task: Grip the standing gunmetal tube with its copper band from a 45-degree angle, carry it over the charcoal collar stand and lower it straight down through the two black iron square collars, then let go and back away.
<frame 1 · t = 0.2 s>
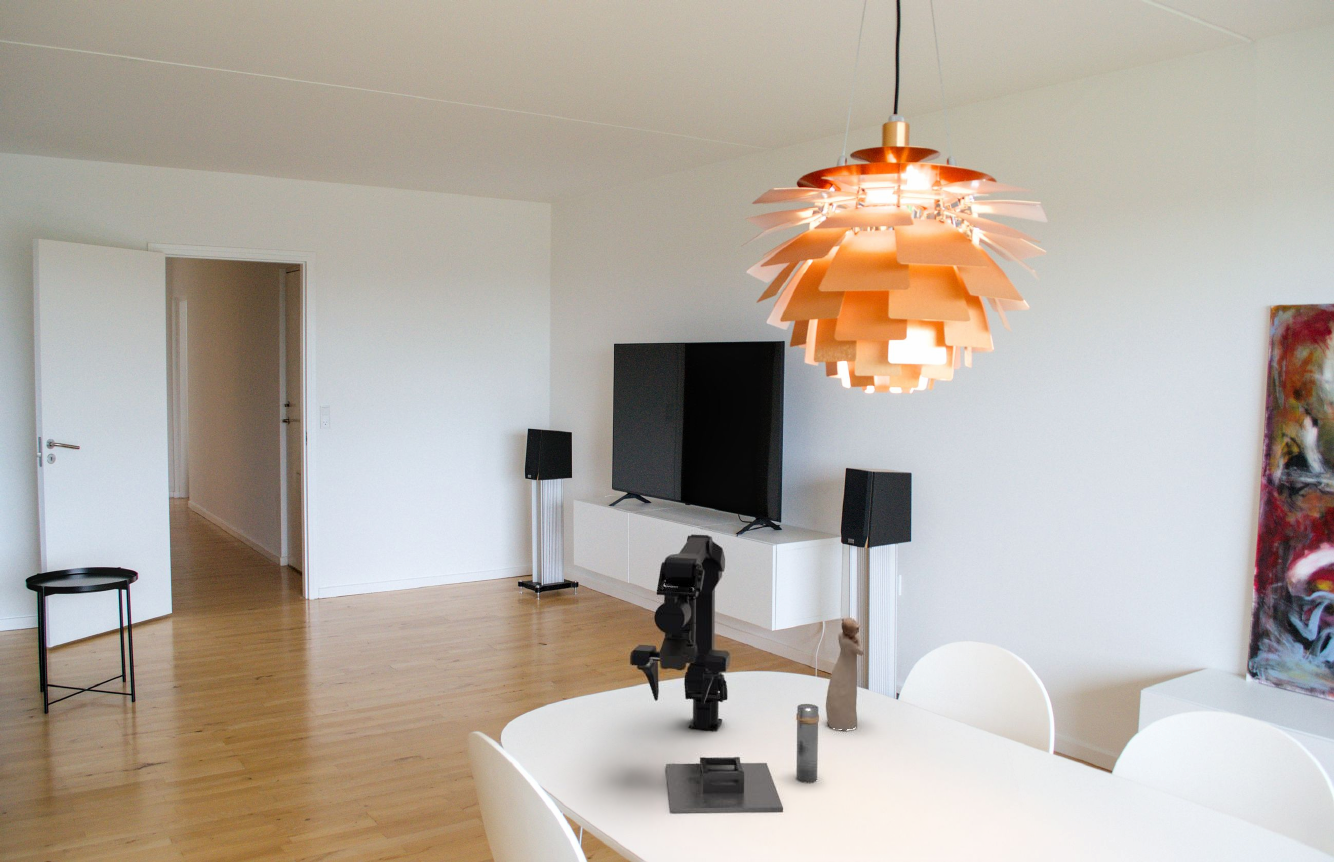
hand: (679, 702, 187), 14 cm above the table, tool pointing down, fingers open, 9 cm apart
air tube: (806, 778, 186), on the table
collar stand: (721, 788, 182), on the table
figurine: (844, 726, 215), on the table
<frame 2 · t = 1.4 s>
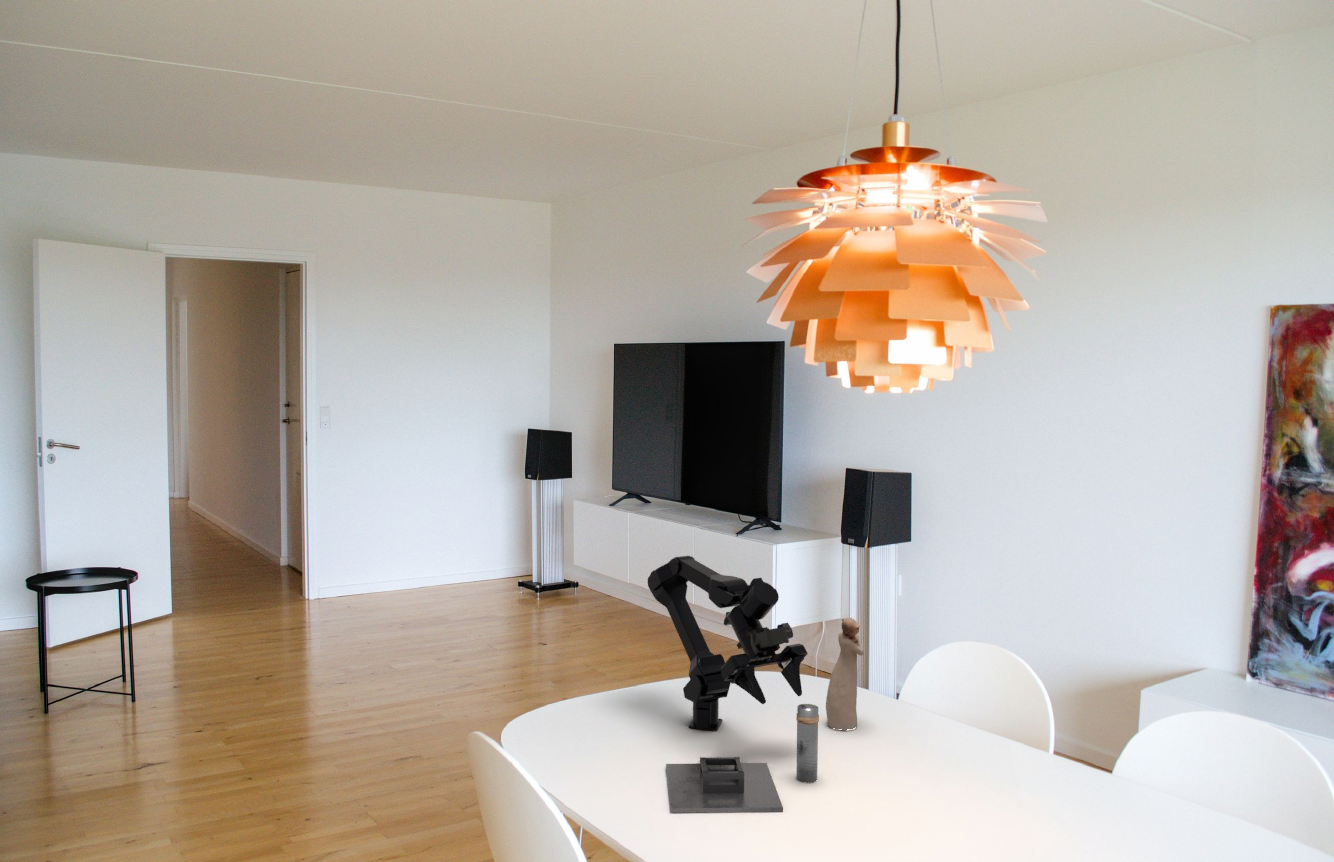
hand: (782, 699, 192), 13 cm above the table, tool tilted 45°, fingers open, 9 cm apart
nothing on the table moved.
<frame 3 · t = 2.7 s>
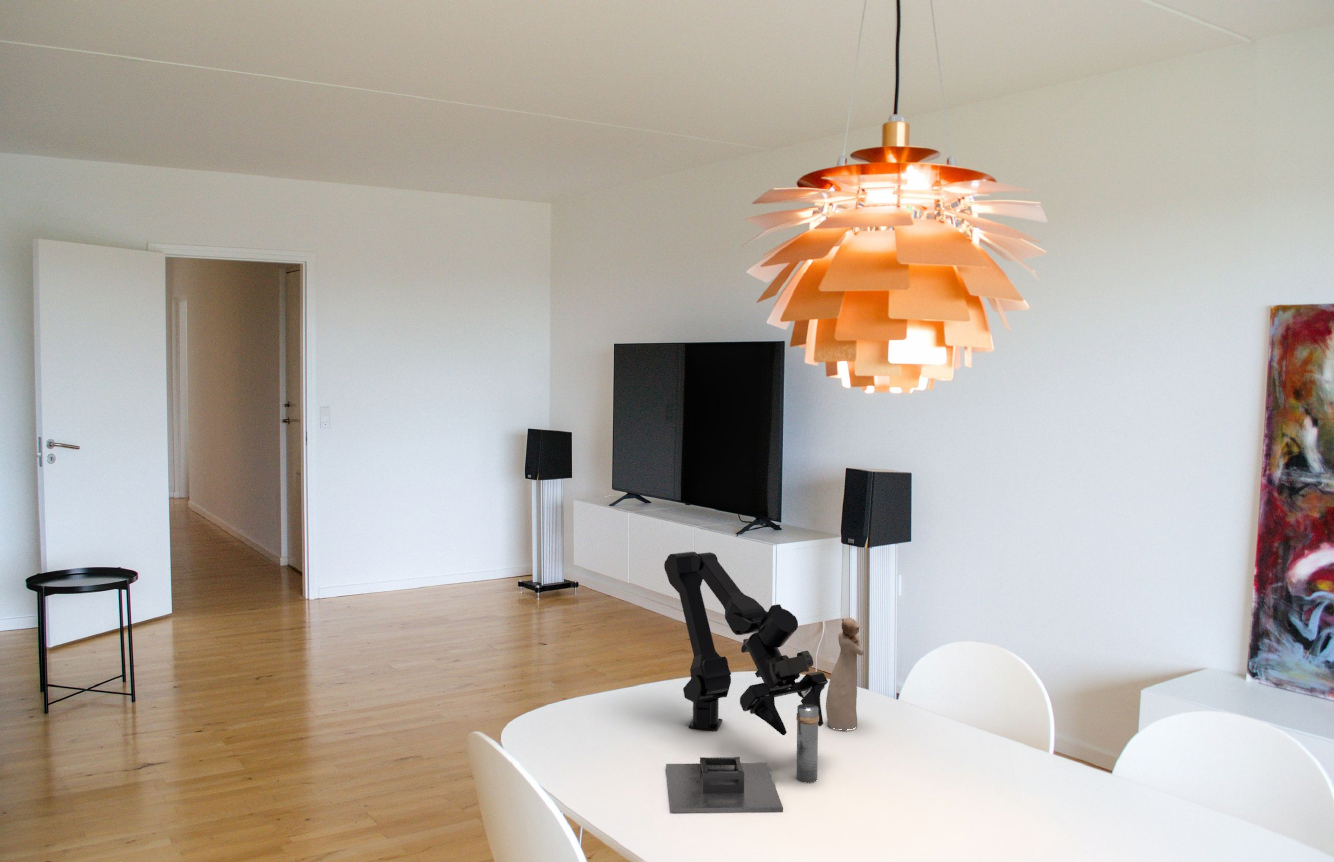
hand: (803, 729, 187), 9 cm above the table, tool tilted 45°, fingers open, 9 cm apart
nothing on the table moved.
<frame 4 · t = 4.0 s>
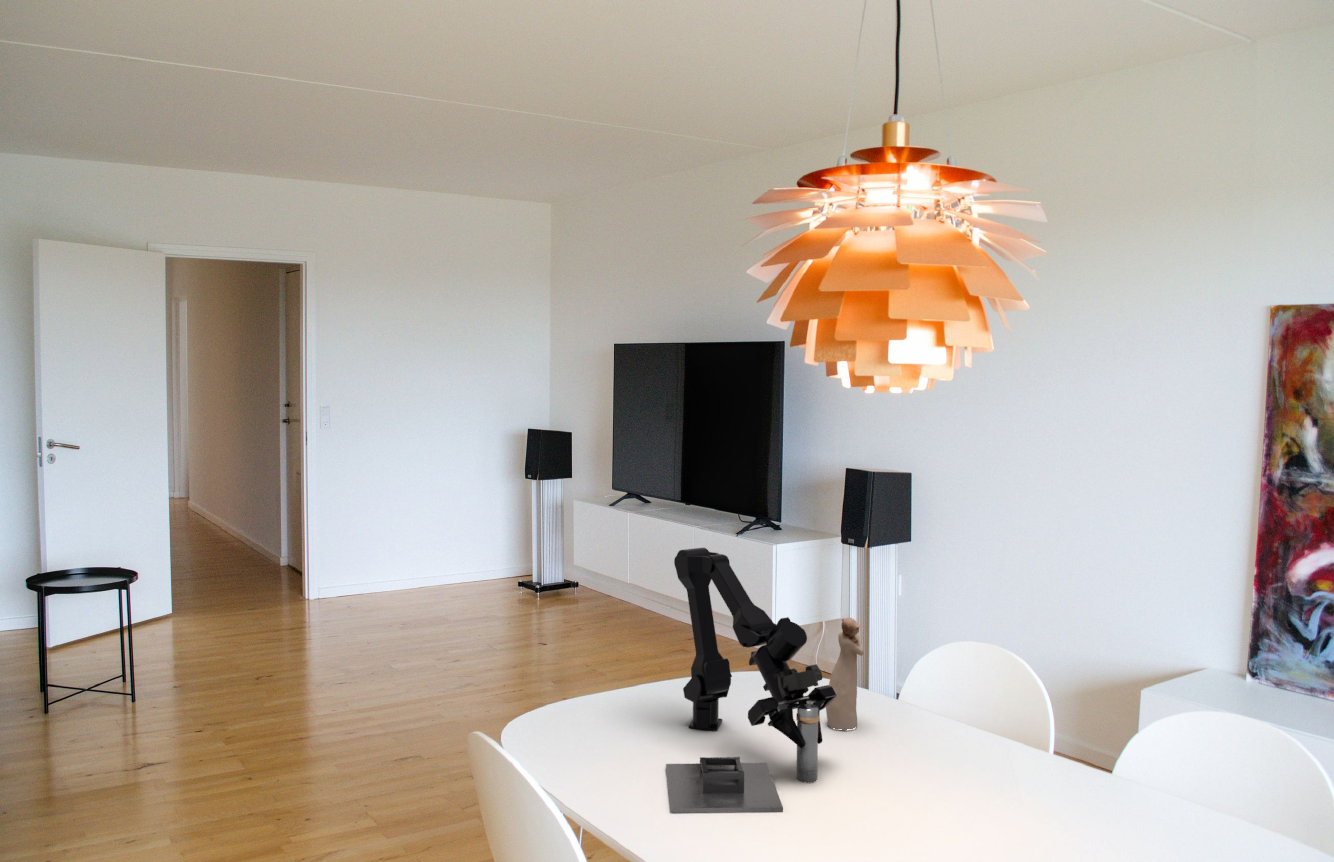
hand: (812, 744, 185), 7 cm above the table, tool tilted 45°, fingers closed on air tube, 4 cm apart
air tube: (806, 778, 186), on the table, touching gripper
everything else where it was.
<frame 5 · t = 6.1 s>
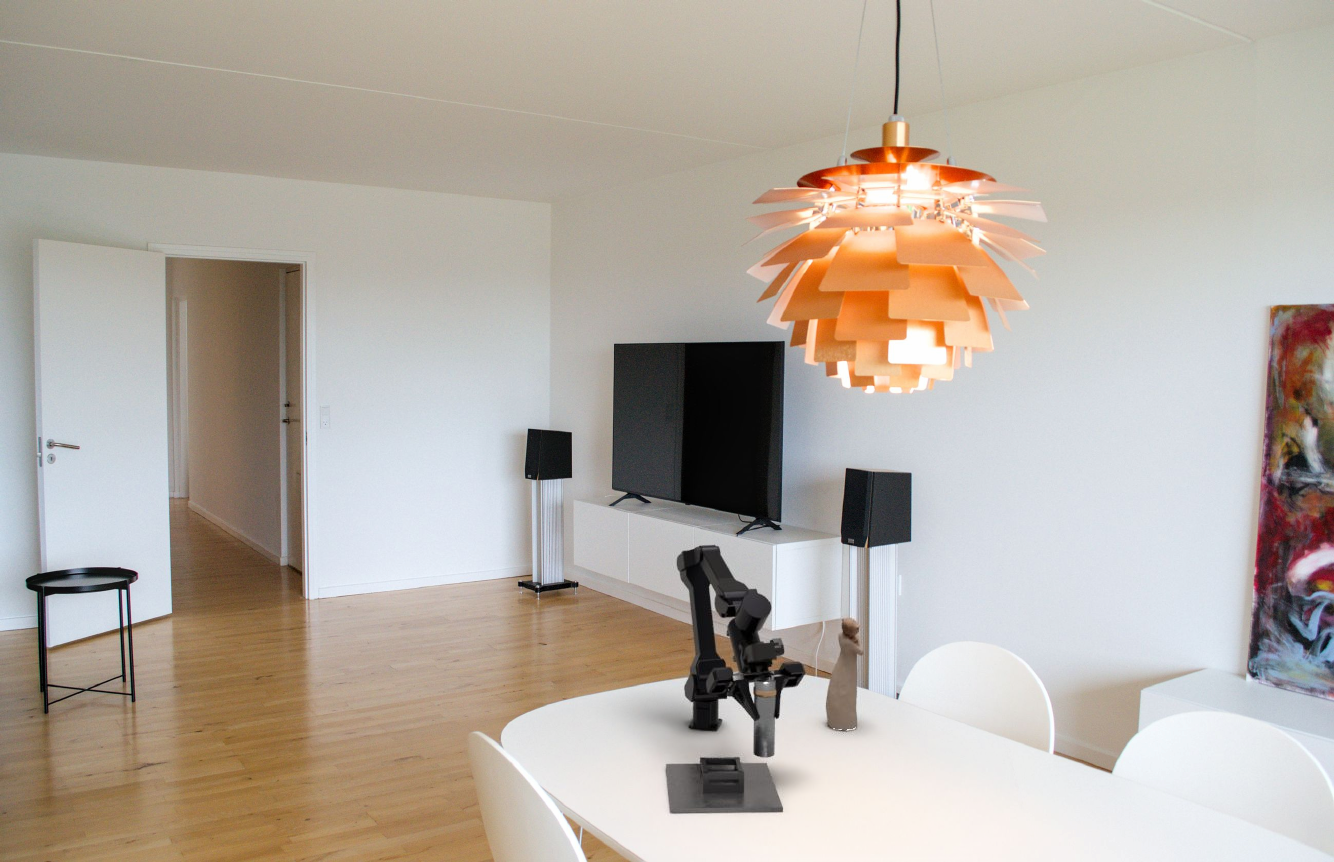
hand: (766, 718, 181), 13 cm above the table, tool tilted 45°, fingers closed on air tube, 4 cm apart
air tube: (763, 753, 182), point 6 cm above the table, touching gripper
everything else where it was.
when the fingers open (9 cm above the table, at t = 8.1 s): air tube stays where it is, resting on collar stand.
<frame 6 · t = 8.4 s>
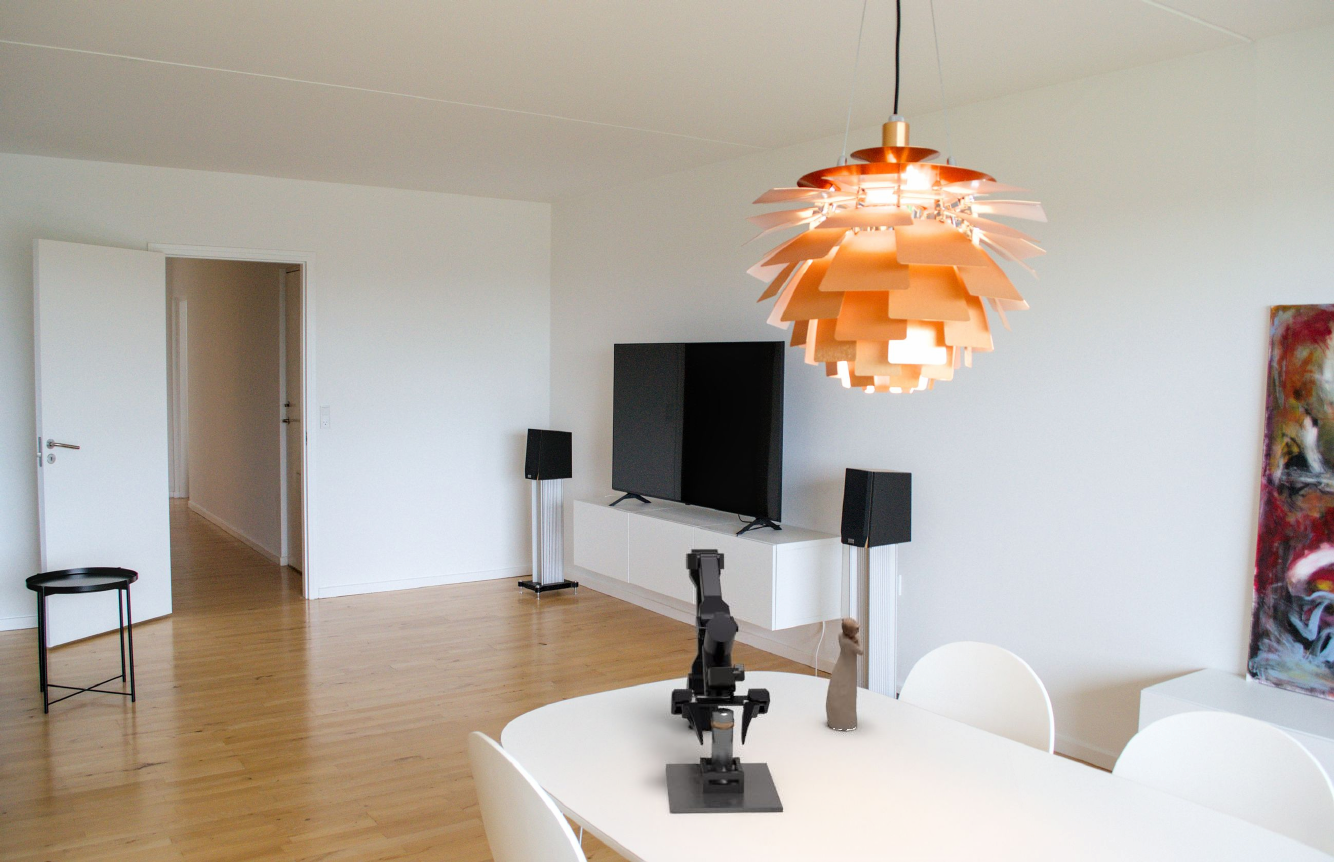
hand: (722, 744, 180), 9 cm above the table, tool tilted 45°, fingers open, 7 cm apart
air tube: (721, 783, 182), point 1 cm above the table, touching collar stand
everything else where it was.
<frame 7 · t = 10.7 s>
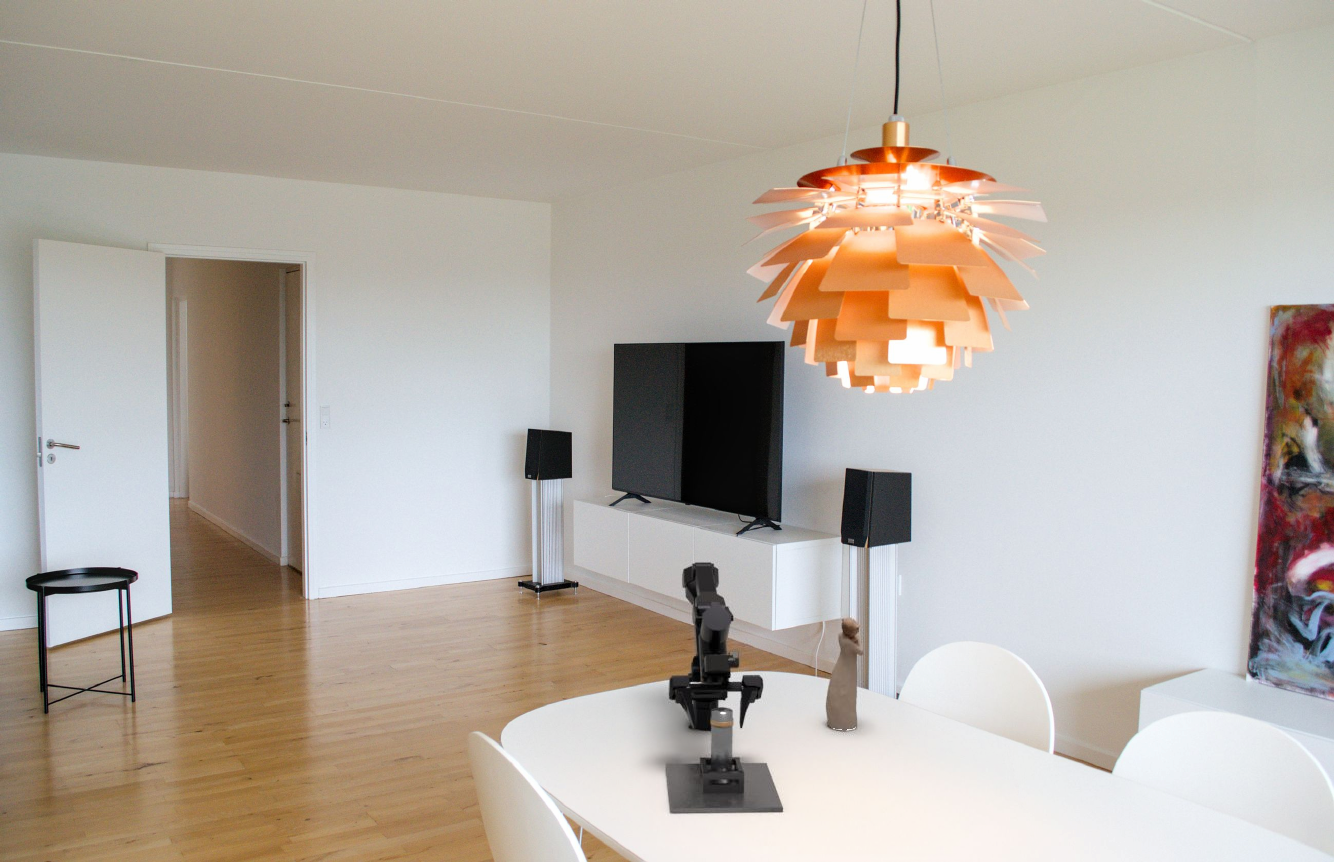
hand: (718, 727, 189), 9 cm above the table, tool tilted 45°, fingers open, 9 cm apart
nothing on the table moved.
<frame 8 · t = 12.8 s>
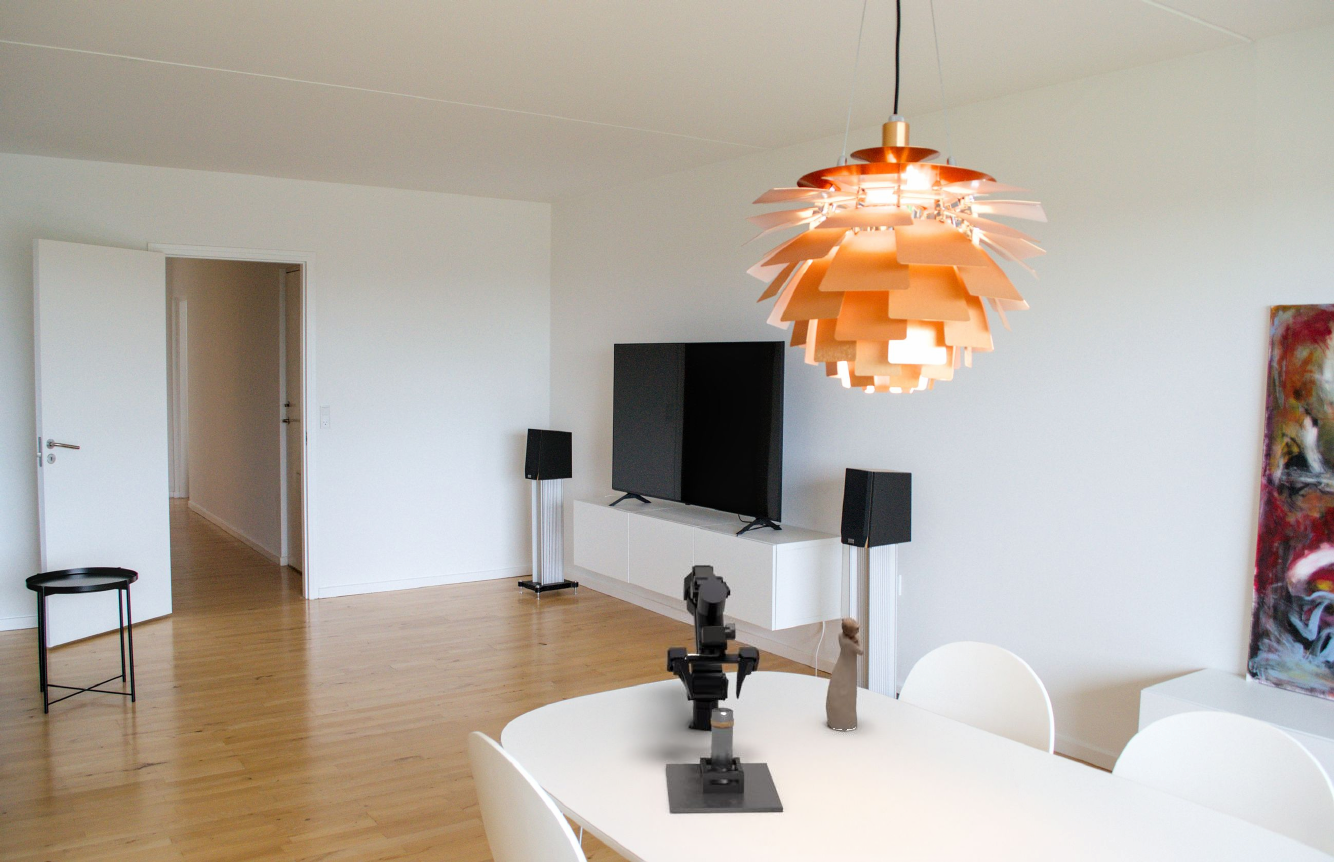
hand: (714, 697, 192), 14 cm above the table, tool tilted 45°, fingers open, 9 cm apart
nothing on the table moved.
at the end: air tube 0.0 cm off-centre on the collar stand, point 0.8 cm above the collar stand's base; air tube tilted 0°; the gripper is holding nothing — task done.
